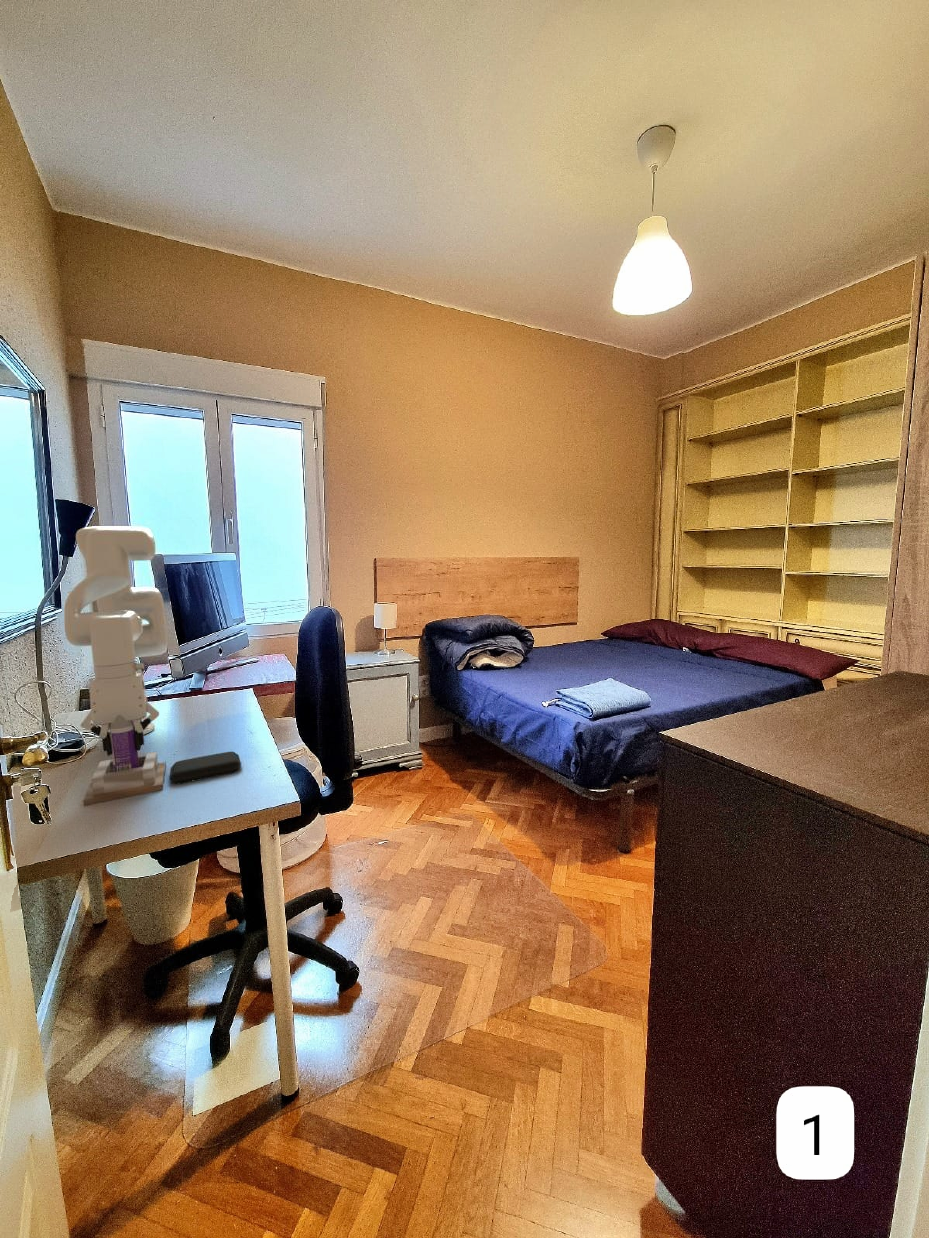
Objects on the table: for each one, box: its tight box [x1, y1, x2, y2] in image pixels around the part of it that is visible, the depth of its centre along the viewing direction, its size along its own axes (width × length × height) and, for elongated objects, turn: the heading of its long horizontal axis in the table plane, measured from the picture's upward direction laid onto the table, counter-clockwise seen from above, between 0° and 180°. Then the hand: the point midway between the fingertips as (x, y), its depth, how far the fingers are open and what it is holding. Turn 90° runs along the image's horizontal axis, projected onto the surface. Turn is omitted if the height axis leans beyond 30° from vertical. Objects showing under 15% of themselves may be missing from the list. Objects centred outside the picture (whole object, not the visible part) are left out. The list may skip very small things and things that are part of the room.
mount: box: [82, 751, 167, 806], centre depth 112 cm, size 14×14×5 cm
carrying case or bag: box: [169, 751, 242, 784], centre depth 119 cm, size 11×3×15 cm
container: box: [109, 715, 139, 772], centre depth 112 cm, size 5×5×15 cm
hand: (124, 750), depth 112 cm, fingers closed on container, 4 cm apart
